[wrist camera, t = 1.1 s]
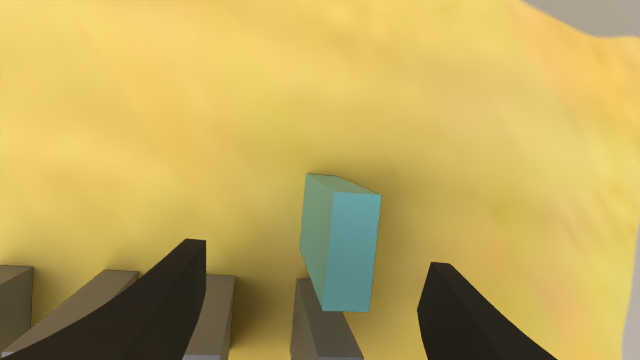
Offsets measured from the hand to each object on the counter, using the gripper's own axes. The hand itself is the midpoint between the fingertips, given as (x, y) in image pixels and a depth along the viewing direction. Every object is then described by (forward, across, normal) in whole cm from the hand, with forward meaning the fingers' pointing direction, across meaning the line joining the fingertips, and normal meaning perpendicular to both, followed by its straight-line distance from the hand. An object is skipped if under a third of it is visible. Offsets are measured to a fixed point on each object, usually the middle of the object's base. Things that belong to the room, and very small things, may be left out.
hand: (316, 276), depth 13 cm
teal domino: (+13, -1, +5) cm, 14 cm away
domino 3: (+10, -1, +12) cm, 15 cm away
